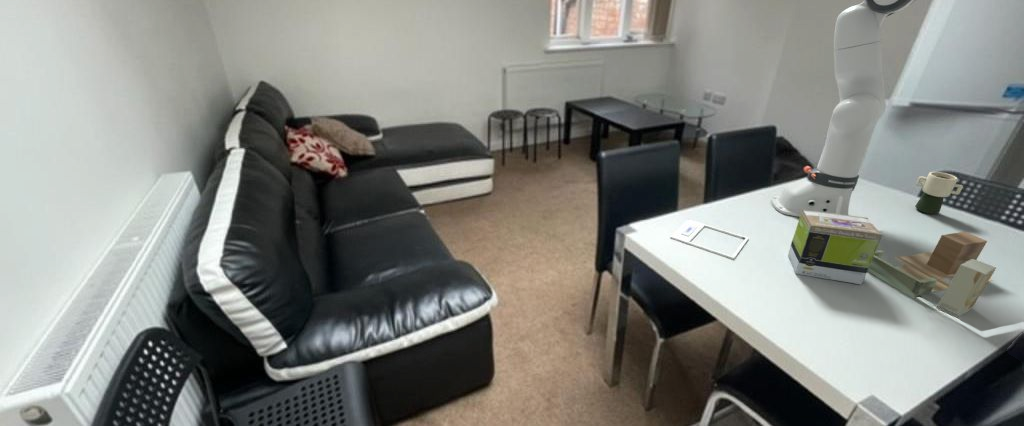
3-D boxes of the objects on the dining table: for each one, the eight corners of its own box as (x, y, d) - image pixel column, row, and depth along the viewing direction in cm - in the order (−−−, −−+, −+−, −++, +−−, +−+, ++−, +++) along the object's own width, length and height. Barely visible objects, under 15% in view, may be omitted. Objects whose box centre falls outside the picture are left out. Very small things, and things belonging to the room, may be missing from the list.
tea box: (848, 265, 118) (869, 216, 112) (861, 286, 110) (884, 235, 103) (786, 255, 123) (802, 207, 116) (793, 274, 114) (812, 224, 107)
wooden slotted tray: (932, 254, 123) (939, 240, 121) (991, 283, 111) (1000, 268, 109) (859, 266, 118) (865, 252, 116) (913, 298, 106) (921, 282, 104)
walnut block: (948, 260, 119) (964, 231, 115) (970, 270, 115) (987, 241, 111) (926, 264, 117) (941, 235, 113) (947, 274, 113) (963, 244, 109)
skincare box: (958, 319, 99) (985, 274, 93) (934, 308, 102) (959, 264, 97) (971, 311, 102) (998, 267, 96) (947, 300, 105) (972, 257, 99)
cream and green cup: (948, 213, 147) (967, 177, 141) (945, 220, 142) (964, 183, 137) (907, 203, 154) (923, 168, 148) (903, 209, 150) (920, 173, 144)
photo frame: (688, 218, 140) (749, 237, 130) (687, 221, 141) (748, 240, 130) (670, 235, 130) (734, 257, 120) (669, 239, 131) (733, 260, 120)
